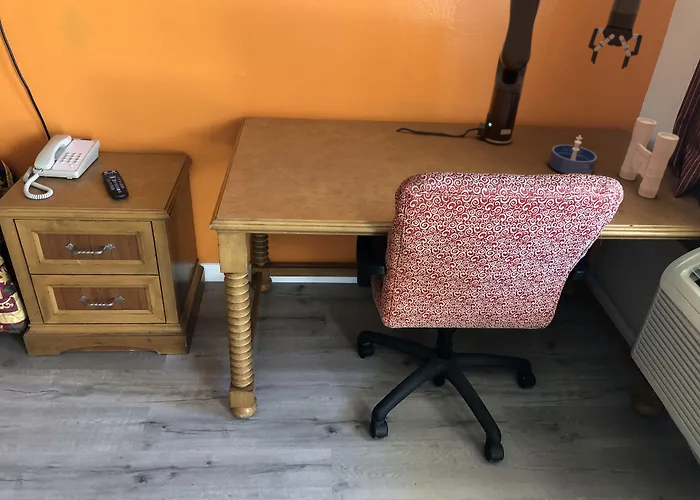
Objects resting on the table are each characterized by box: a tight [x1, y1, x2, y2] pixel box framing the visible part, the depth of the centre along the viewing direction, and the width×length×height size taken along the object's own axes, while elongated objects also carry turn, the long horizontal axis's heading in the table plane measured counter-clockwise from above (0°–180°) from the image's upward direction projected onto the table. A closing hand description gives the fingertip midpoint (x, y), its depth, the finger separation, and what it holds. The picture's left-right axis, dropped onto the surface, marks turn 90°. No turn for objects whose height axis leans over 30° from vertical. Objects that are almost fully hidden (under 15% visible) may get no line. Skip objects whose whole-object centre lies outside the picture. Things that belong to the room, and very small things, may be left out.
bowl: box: [548, 144, 598, 175], centre depth 186 cm, size 13×13×5 cm
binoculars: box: [618, 116, 680, 199], centre depth 175 cm, size 17×5×18 cm, turn 5°
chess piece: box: [570, 134, 583, 160], centre depth 184 cm, size 5×5×10 cm
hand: (608, 65), depth 185 cm, fingers open, 8 cm apart
